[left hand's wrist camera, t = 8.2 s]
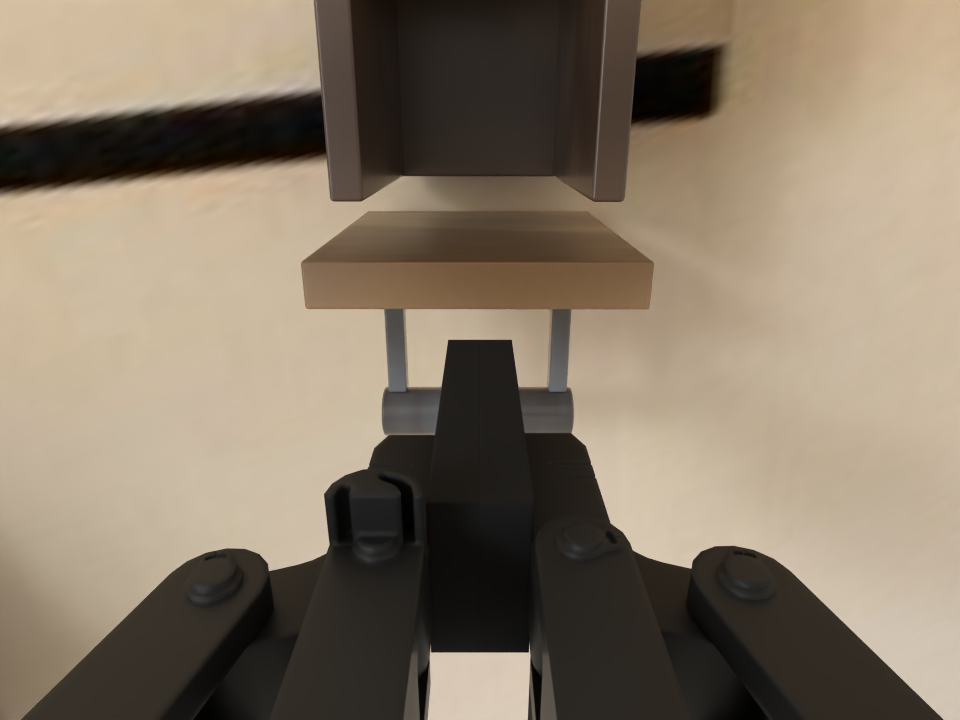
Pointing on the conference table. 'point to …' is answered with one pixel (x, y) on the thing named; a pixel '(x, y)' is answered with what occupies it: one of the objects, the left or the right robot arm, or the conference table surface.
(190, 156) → the conference table surface
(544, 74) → the drawer
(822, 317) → the conference table surface
